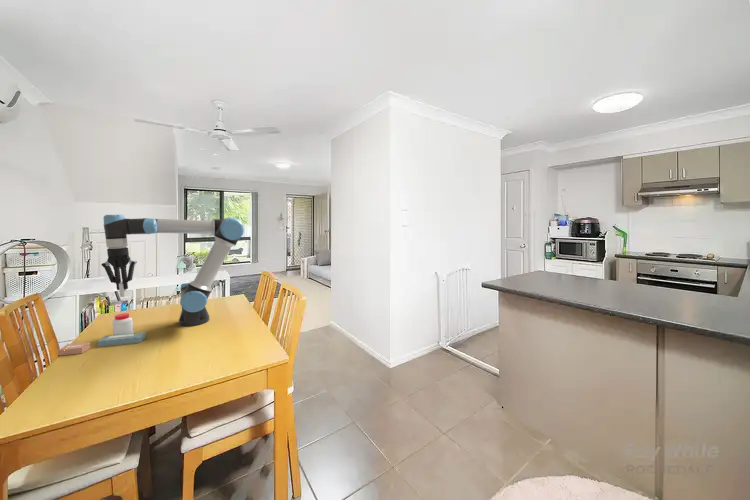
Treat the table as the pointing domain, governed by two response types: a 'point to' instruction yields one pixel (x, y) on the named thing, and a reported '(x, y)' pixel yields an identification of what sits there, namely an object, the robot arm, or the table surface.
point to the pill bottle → (122, 324)
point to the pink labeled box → (74, 348)
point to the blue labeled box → (122, 339)
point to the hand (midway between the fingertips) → (123, 296)
